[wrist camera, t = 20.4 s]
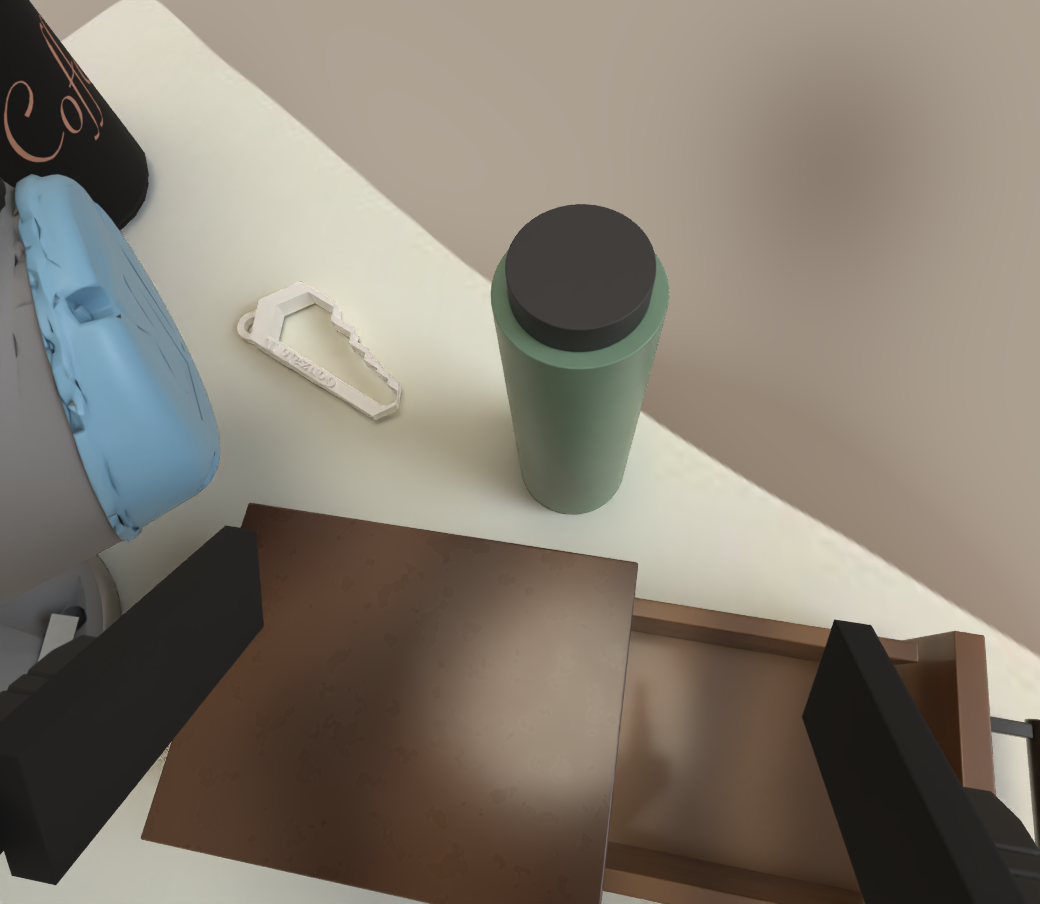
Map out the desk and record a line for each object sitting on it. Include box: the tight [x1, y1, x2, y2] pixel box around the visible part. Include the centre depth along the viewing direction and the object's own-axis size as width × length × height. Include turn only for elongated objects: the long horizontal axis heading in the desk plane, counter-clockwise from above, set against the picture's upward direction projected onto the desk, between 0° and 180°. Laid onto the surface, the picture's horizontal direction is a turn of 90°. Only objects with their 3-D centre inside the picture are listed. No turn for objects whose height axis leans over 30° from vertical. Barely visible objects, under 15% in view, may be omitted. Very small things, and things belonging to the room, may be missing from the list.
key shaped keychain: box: [237, 281, 401, 420], centre depth 42 cm, size 13×5×2 cm, turn 56°
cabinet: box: [141, 503, 638, 904], centre depth 31 cm, size 18×14×9 cm
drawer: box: [603, 598, 1040, 904], centre depth 29 cm, size 21×12×7 cm, turn 80°
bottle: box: [491, 204, 669, 514], centre depth 30 cm, size 6×6×19 cm
